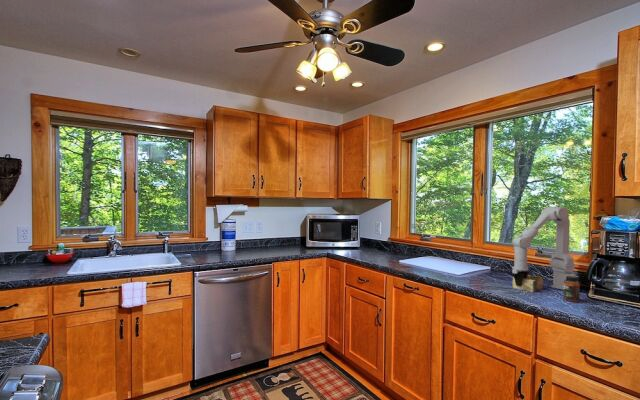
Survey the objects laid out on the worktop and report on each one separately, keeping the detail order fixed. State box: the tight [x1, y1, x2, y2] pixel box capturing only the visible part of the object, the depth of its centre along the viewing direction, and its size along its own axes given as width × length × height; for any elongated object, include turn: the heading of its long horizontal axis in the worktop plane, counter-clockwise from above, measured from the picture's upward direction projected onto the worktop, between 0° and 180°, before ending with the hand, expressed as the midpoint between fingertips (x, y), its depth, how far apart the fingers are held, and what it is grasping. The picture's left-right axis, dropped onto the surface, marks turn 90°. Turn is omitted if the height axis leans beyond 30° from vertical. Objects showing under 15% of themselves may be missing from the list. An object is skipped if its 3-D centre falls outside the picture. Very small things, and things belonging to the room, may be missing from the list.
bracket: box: [526, 274, 544, 290], centre depth 167 cm, size 9×4×7 cm, turn 36°
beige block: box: [512, 276, 538, 293], centre depth 162 cm, size 10×3×6 cm, turn 36°
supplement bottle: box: [562, 276, 581, 303], centre depth 145 cm, size 6×6×11 cm
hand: (520, 285), depth 163 cm, fingers closed on beige block, 3 cm apart
